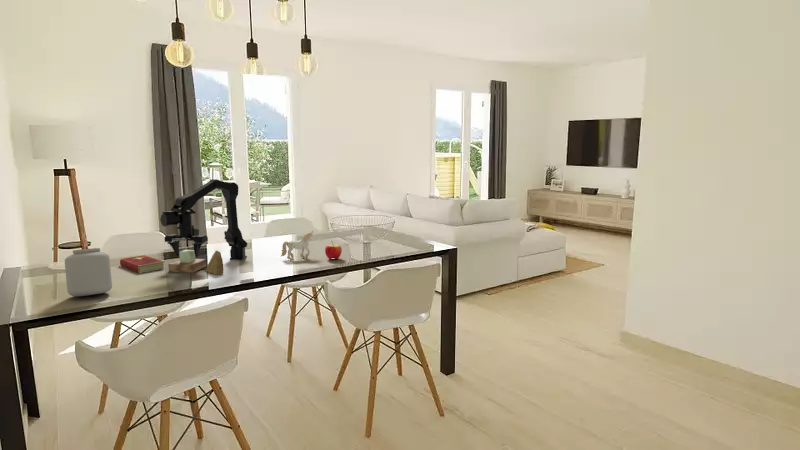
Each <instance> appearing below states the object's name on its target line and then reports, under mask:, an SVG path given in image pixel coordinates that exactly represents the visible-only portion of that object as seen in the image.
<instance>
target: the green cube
mask: <svg viewBox="0 0 800 450" xmlns="http://www.w3.org/2000/svg"><path fill="white" fill-rule="evenodd" d="M178 257H179V260H180V263H191V262H193V261H195V259H196V257H195V252H194V249H184V250H180V251H179V256H178Z"/></svg>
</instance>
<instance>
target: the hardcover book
mask: <svg viewBox="0 0 800 450" xmlns="http://www.w3.org/2000/svg"><path fill="white" fill-rule="evenodd" d="M165 262H166V261H165V260H162V259H159V258H156V257H153V256H151V255H150V256H149V255H147V254H141V255H136V256H130V257H125V258H124V257H123V258H119V264H120V267H122V268H124V269H128V270H129V271H132V272H135V273H137V274H141V273H143V274H144V273H147V272H153V271H154V272H155V271H158V270H164V269H165V266H164V265H165Z"/></svg>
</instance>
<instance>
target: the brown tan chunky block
mask: <svg viewBox="0 0 800 450" xmlns="http://www.w3.org/2000/svg"><path fill="white" fill-rule="evenodd" d="M223 262H224V261H223V258H222V253H221V251H220V250H215V251H214V253H212V256H211V258H210V261H209V262H208V263H207V264H206V269H205V272H207V273H209V274H213V275H218V276H219V275H223V274H224V263H223Z"/></svg>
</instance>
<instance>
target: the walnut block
mask: <svg viewBox="0 0 800 450" xmlns="http://www.w3.org/2000/svg"><path fill="white" fill-rule="evenodd" d="M205 267H206V268H207V259H206V258H195V261H193V262H191V263H180V259H178V260H175V261H173V262H171V263H168V272H171V273H172V272H175V273H196V272H197V271H199V270H201V269H204V268H205Z"/></svg>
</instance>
